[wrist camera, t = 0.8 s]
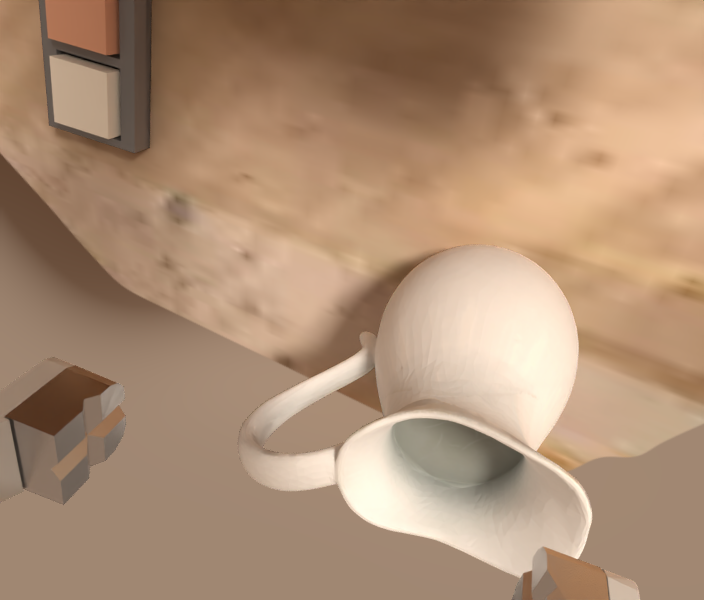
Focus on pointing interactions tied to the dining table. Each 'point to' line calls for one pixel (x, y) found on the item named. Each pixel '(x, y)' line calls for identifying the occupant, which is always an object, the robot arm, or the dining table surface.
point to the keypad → (132, 73)
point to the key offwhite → (86, 95)
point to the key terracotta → (85, 24)
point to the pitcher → (451, 413)
